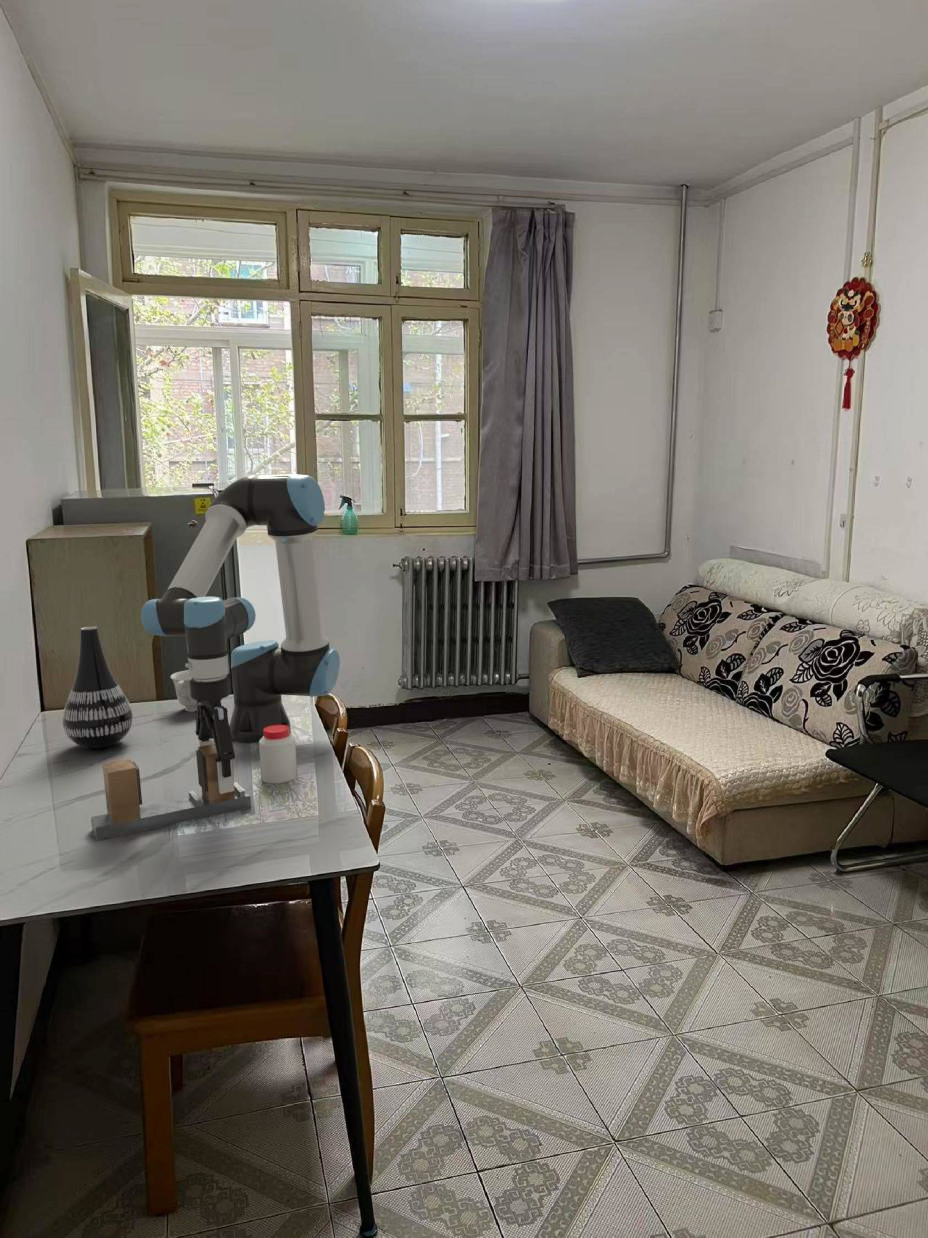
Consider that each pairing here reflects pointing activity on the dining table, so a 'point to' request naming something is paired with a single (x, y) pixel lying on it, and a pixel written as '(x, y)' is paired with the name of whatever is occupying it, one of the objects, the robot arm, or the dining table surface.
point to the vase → (95, 699)
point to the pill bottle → (277, 755)
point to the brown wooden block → (210, 775)
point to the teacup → (184, 690)
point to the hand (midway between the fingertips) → (217, 781)
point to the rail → (133, 818)
